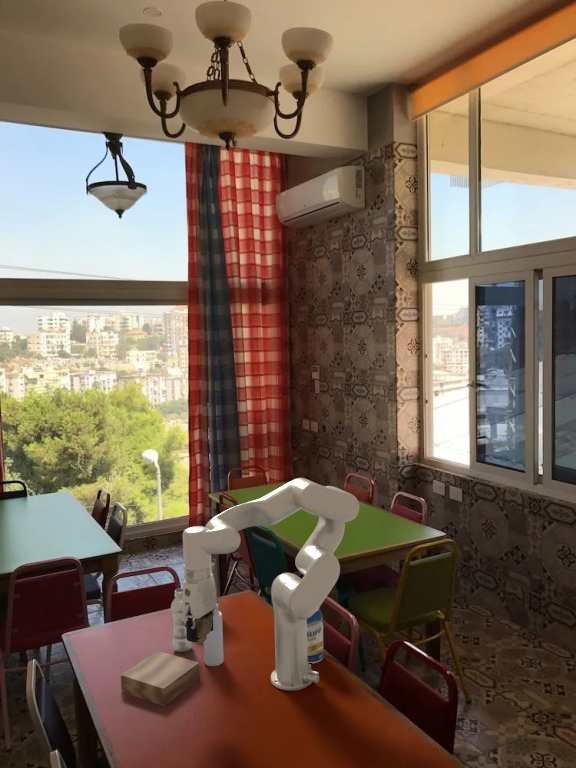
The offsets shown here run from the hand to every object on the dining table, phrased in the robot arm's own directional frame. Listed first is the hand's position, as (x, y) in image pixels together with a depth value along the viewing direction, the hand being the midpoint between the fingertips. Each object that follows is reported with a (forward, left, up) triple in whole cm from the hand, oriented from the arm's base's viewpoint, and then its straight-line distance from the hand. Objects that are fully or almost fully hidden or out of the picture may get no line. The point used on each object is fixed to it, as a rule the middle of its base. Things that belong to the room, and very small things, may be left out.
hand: (200, 635), depth 175 cm
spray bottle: (+11, -20, -20) cm, 30 cm away
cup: (0, 0, -2) cm, 2 cm away
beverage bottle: (-15, -36, -20) cm, 44 cm away
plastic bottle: (+25, -22, -20) cm, 38 cm away
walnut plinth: (+17, -2, -19) cm, 26 cm away
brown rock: (+31, -42, -20) cm, 56 cm away
